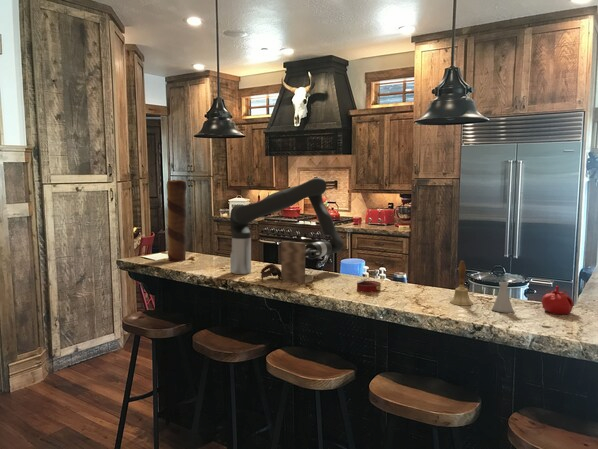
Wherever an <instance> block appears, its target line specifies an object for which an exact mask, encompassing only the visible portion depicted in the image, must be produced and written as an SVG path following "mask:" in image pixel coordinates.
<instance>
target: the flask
mask: <svg viewBox="0 0 598 449" xmlns="http://www.w3.org/2000/svg"><path fill="white" fill-rule="evenodd" d="M498 286H499V290H498V293H497V296H496V298H495V301H494V303H493V305H492V307H491V311H494V312H498V313H505V314H509V313H514V308H513V306H512V303H511V300H510V296H509V291H508V286H509V282H505V281H499V282H498Z"/></svg>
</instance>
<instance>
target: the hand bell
mask: <svg viewBox="0 0 598 449" xmlns="http://www.w3.org/2000/svg"><path fill="white" fill-rule="evenodd" d="M466 269H467V268H466V264H465V261H464V260H460V262H459V265H458V270H457V271H458V275H459V282H458V283H459V286H458V287H456V288H455V290H454V294H453V297H452V298H451V299H450V300H449V303H450V304H452V305H455V306H463V307H464V306H465V307H466V306H467V307H469V306H472V305H473V304H474V302H473V301H472V299H471V298H470V296H469V290H468V288H466V287H465V277H466V276H465V275H466Z"/></svg>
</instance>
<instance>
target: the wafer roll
mask: <svg viewBox="0 0 598 449" xmlns="http://www.w3.org/2000/svg"><path fill="white" fill-rule="evenodd" d="M186 193H187V181H186V180H185V179H172V180H167V183H166V196H167V197H166V201H167V202H166V203H167V204H166V205H167V240H168V243H167V244H168V246H167V247H168V248H167V257H168V260H169V261H171V262H182V261H186V255H187V254H186V253H187V252H186V248H187V247H186V245H187V241H186V240H187V239H186V238H187V236H186V233H187V232H186V231H187V230H186V228H187V227H186V226H187V208H186V206H187V201H186V199H187V198H186V195H187V194H186Z"/></svg>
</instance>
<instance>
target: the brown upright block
mask: <svg viewBox="0 0 598 449" xmlns="http://www.w3.org/2000/svg"><path fill="white" fill-rule="evenodd" d="M280 242H281V244H280V245H281V247H280V248H281V253H280V254H281V258H280V260H281V261H280V262H281V267H280V268H281V269H280V270H281V278H280V280H281V282H288V283H294V284H301V285H305V284H306V283H311V282H313V281H314V275H313V274H307V273H306V257H305V246H306V242H300V241H299V242H296V241H287V240H281V241H280Z"/></svg>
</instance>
